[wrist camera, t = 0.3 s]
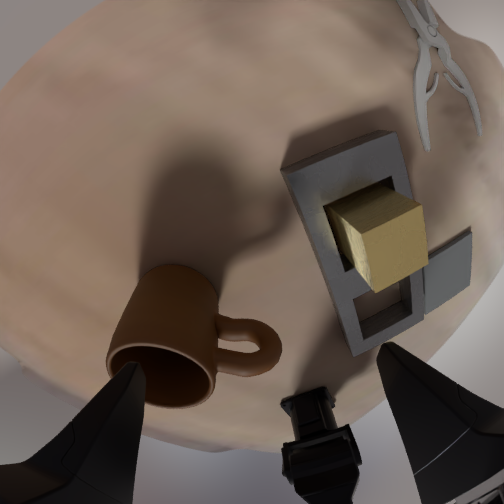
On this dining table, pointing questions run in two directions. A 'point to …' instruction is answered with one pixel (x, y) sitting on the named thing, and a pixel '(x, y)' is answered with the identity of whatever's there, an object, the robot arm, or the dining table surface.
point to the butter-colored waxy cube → (380, 234)
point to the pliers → (426, 39)
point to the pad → (447, 272)
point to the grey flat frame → (322, 241)
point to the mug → (185, 338)
